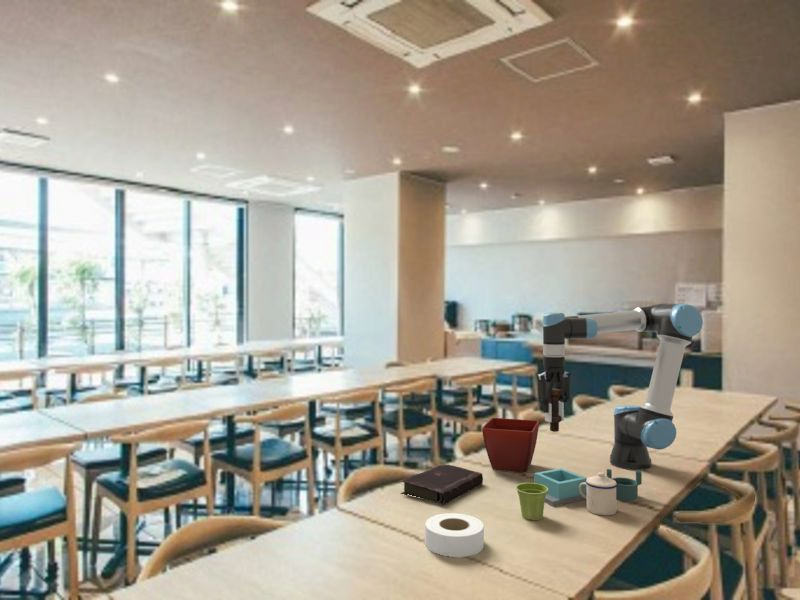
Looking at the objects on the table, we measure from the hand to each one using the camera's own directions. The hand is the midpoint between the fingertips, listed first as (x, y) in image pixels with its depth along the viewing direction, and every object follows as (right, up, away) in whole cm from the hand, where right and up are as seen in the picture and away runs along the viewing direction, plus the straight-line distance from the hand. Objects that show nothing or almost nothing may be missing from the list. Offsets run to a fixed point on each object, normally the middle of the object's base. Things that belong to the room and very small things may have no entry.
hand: (554, 420), depth 197 cm
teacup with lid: (+6, -22, -26) cm, 35 cm away
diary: (-41, -23, -7) cm, 47 cm away
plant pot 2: (-16, -22, -32) cm, 42 cm away
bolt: (0, -4, 0) cm, 4 cm away
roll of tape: (-41, -23, -49) cm, 68 cm away
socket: (-2, -22, -14) cm, 26 cm away
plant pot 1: (-12, -22, +17) cm, 30 cm away
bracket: (+19, -22, -15) cm, 33 cm away
